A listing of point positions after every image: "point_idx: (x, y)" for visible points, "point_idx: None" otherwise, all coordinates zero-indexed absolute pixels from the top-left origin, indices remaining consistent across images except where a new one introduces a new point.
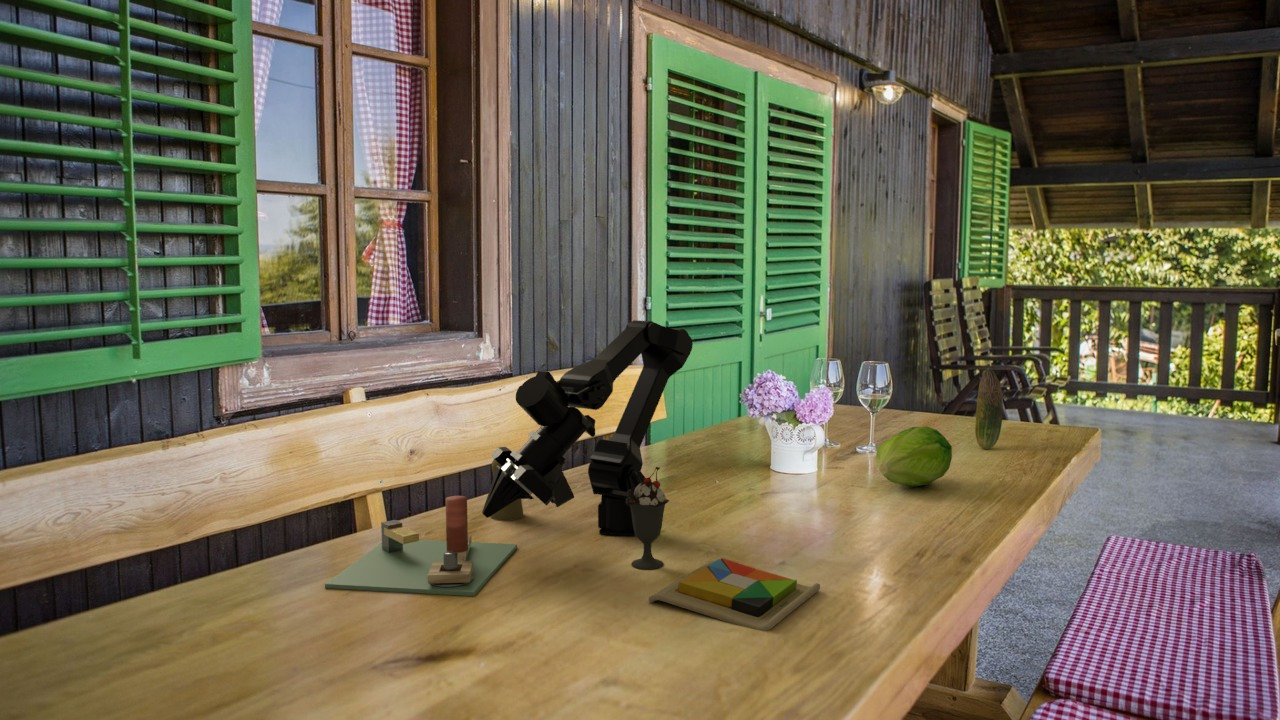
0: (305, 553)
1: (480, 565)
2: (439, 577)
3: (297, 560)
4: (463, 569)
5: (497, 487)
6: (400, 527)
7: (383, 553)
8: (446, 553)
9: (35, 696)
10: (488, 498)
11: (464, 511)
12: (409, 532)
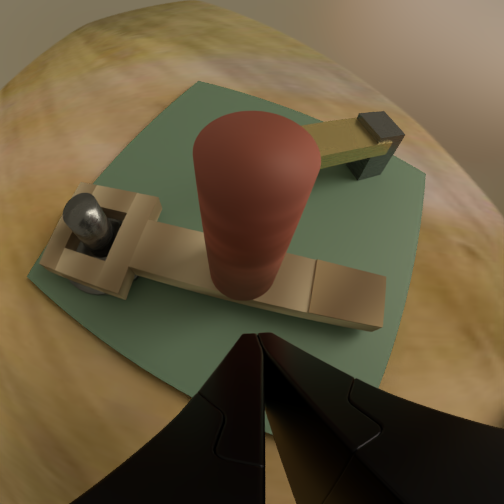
0: (364, 88)
1: (179, 334)
2: None
3: (335, 77)
4: (70, 256)
5: (154, 438)
6: (366, 138)
7: None
8: (81, 199)
9: (91, 24)
10: (276, 364)
11: (210, 220)
12: (320, 143)
